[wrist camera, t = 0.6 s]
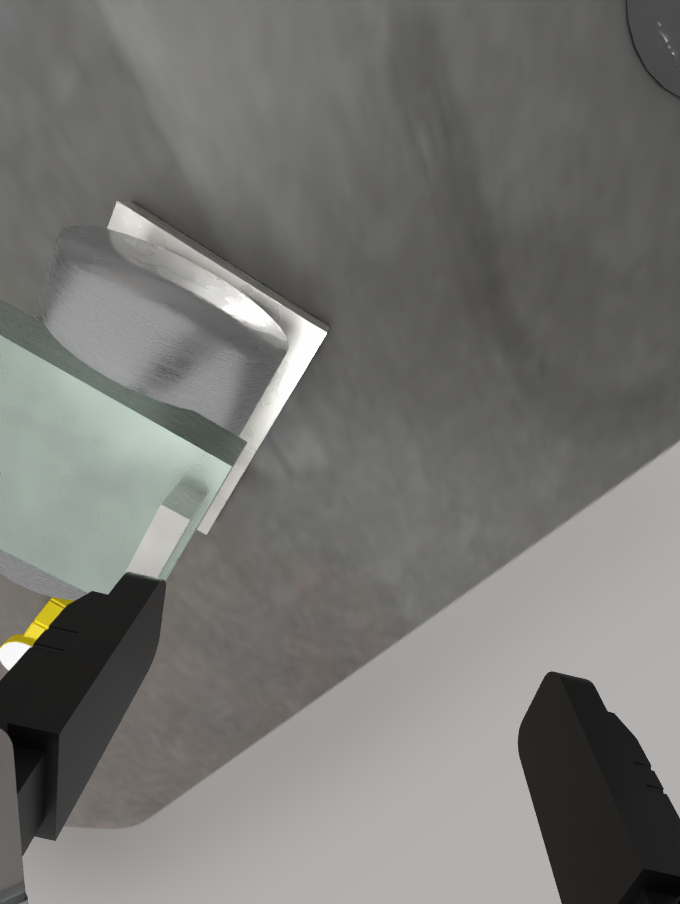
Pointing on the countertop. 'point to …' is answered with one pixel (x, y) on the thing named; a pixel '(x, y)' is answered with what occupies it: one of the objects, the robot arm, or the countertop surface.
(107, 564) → the motor
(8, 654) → the yellow watch
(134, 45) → the countertop surface
